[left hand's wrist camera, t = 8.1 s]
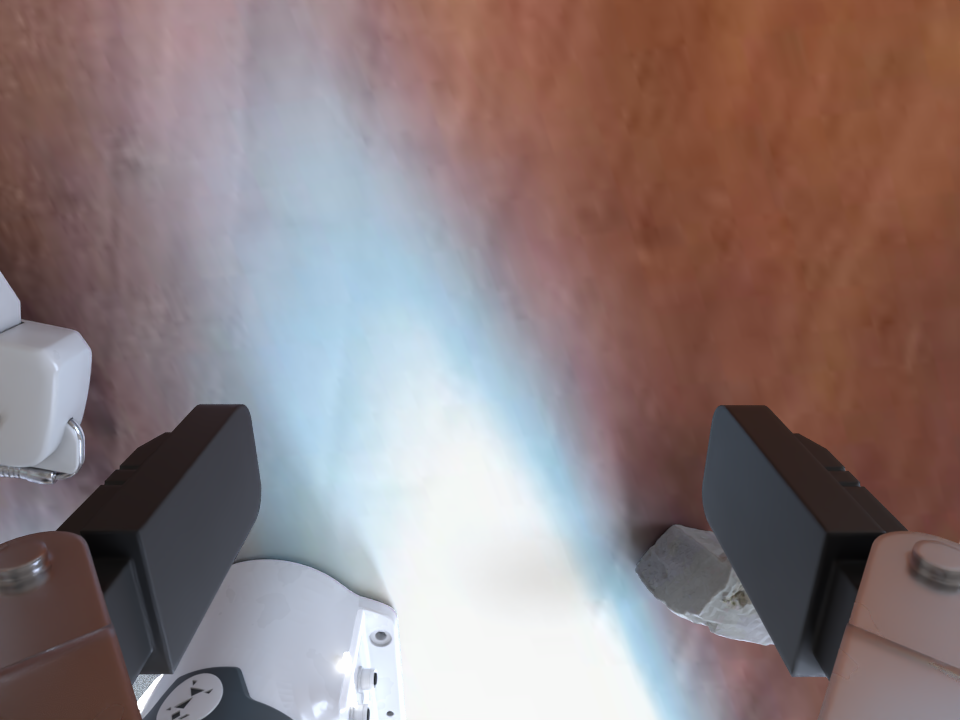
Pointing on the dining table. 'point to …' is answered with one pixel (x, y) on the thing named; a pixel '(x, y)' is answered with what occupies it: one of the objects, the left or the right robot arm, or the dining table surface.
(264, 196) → the dining table surface
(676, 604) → the mineral specimen
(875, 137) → the dining table surface
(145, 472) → the left robot arm
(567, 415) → the dining table surface
